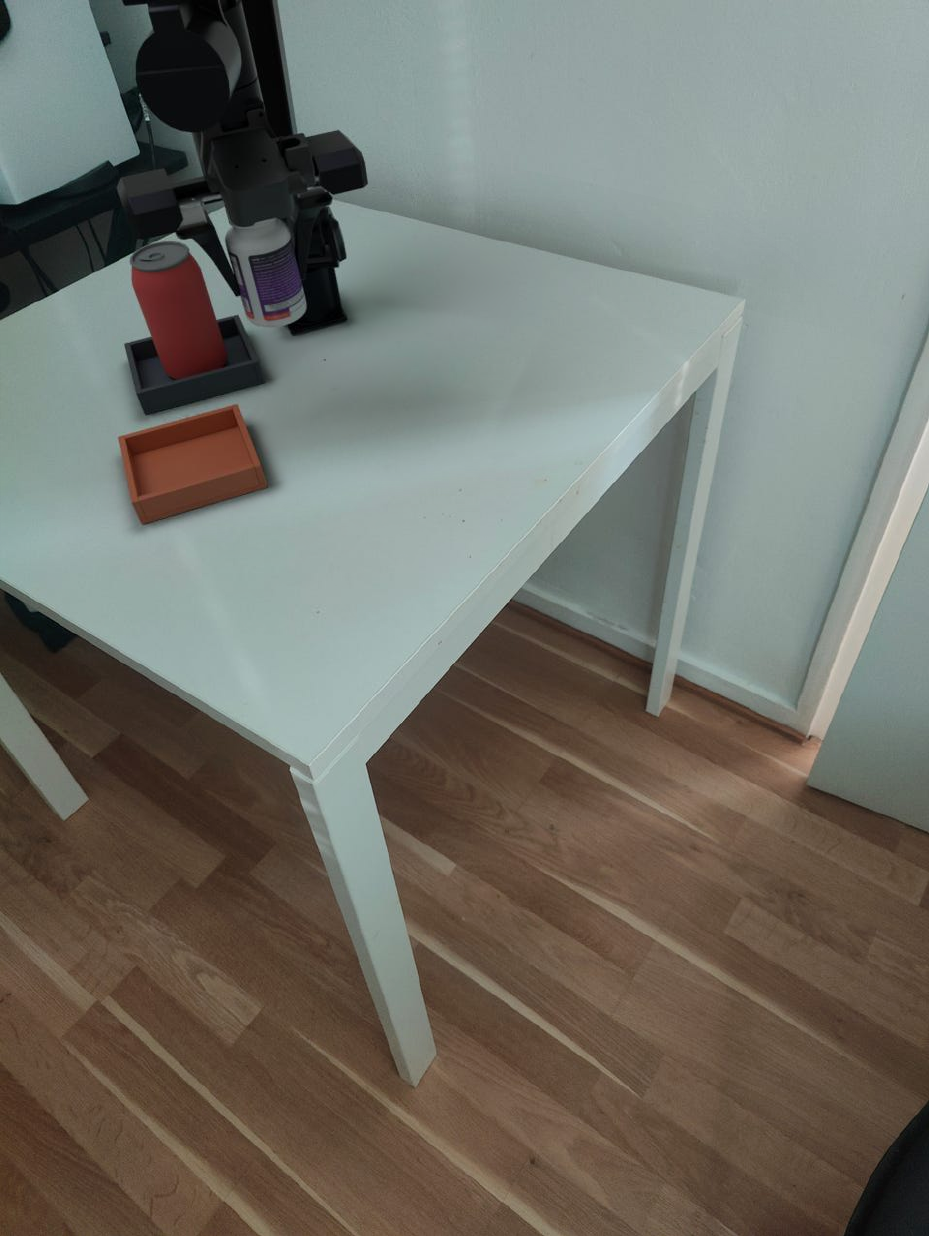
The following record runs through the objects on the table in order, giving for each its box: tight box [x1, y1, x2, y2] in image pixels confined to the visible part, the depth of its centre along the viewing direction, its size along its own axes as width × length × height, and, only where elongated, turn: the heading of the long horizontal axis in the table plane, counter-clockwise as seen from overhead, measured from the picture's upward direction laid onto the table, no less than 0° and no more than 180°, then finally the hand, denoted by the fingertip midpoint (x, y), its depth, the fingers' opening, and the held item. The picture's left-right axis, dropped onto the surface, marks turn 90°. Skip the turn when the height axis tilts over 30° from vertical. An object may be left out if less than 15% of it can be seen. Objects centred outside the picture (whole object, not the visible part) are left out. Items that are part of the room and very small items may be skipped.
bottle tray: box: [117, 403, 269, 525], centre depth 78 cm, size 11×10×2 cm
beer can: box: [129, 240, 227, 380], centre depth 85 cm, size 7×7×12 cm
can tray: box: [123, 314, 266, 416], centre depth 89 cm, size 12×10×2 cm
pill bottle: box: [224, 206, 306, 328], centre depth 72 cm, size 5×5×10 cm
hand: (269, 286), depth 74 cm, fingers closed on pill bottle, 5 cm apart
